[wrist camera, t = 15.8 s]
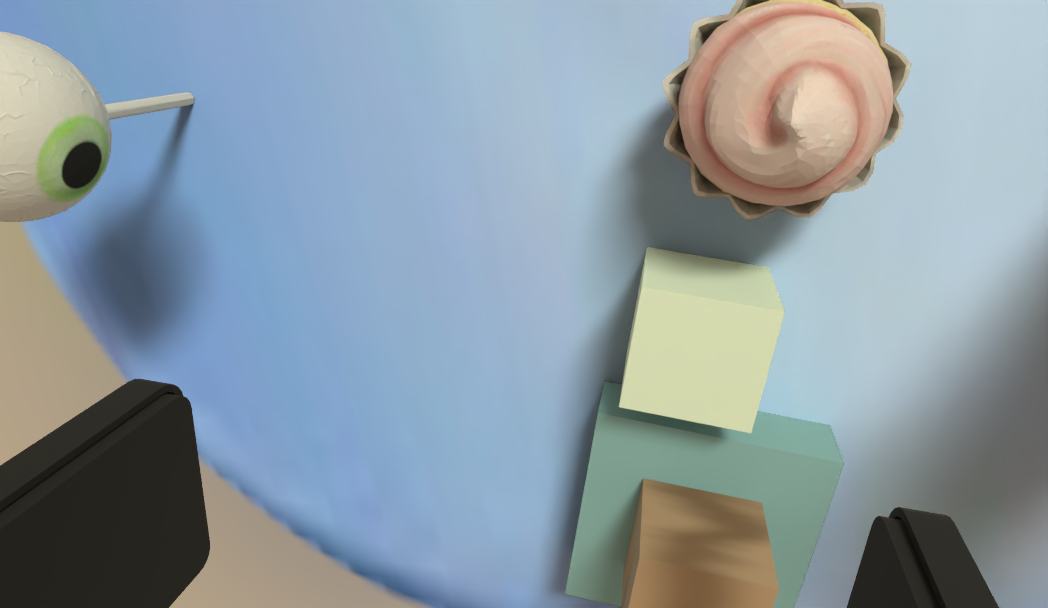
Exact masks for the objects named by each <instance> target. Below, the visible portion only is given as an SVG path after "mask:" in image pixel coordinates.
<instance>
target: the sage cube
mask: <svg viewBox="0 0 1048 608" xmlns="http://www.w3.org/2000/svg"><path fill="white" fill-rule="evenodd" d="M784 314H785V310H784V308H783V305H782V302H781V300H780V297H779V294H778V292H777V289H776V286H775V284H774V281H773V278H772V276H771V273H770V270H769V268H768V267H764V266H758V265H752V264H746V263H740V262H734V261H728V260H722V259H716V258H710V257H704V256H698V255H692V254H686V253H680V252H674V251H668V250H662V249H656V248H650V247H647V249H646V254H645V259H644V265H643V270H642V275H641V280H640V286H639V291H638V296H637V302H636V307H635V312H634V317H633V323H632V328H631V333H630V339H629V344H628V349H627V355H626V362H625V369H624V375H623V382H622V389H621V396H620V403H619V407H621V408H626V409H631V410H636V411H641V412H646V413H651V414H656V415H661V416H666V417H671V418H676V419H681V420H686V421H692V422H697V423H702V424H707V425H712V426H717V427H722V428H727V429H732V430H737V431H742V432H747V433H751V432H752V429H753V425H754V422H755V418H756V414H757V411H758V407H759V404H760V400H761V396H762V393H763V389H764V386H765V382H766V378H767V375H768V371H769V368H770V364H771V360H772V357H773V353H774V350H775V346H776V343H777V339H778V335H779V332H780V328H781V325H782V321H783V317H784Z"/></svg>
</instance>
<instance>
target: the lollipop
mask: <svg viewBox="0 0 1048 608" xmlns="http://www.w3.org/2000/svg"><path fill="white" fill-rule="evenodd" d="M191 104H194V97H193V95H192V94H191V93H188V92H185V93H178V94H172V95H165V96H159V97H152V98H145V99H139V100H132V101H125V102H119V103H112V104H106V105H104V103H103V101H102V99H101V97H100V95H99V93H98V92H97V91H96V89H95V88H94V87H93V85H92V84H91V82H90V81H89V80H88V79H87V78H86V76H85V75H84V74H83V73H82V72H81V71H80V70H79V69H78V68H77V67H76V66H75V65H73V64H72V63H71V62H70V61H69V60H67V59H66V58H65V57H63V56H62V55H60V54H59V53H57V52H55V51H54V50H52V49H50V48H49V47H47V46H45V45H43V44H41V43H38V42H35V41H33V40H30V39H28V38H26V37H23V36H19V35H14V34H11V33H6V32H0V221H3V222H24V221H34V220H39V219H43V218H47V217H50V216H53V215H56V214H58V213H60V212H63V211H66V210H68V209H69V208H70V207H72V206H74V205H75V204H77V203H78V202H79V201H81V200H82V199H83V198H84V197H85V196H86V195H88V194H89V193H90V192H91V191H92V189H93V188H94V187H95V186H96V185H97V183H98V182H99V180H100V179H101V177H102V175H103V173H104V172H105V170H106V167H107V164H108V160H109V157H110V152H111V138H112V135H111V128H110V123H109V120H111V119H116V118H122V117H127V116H133V115H139V114H144V113H150V112H155V111H161V110H167V109H172V108H178V107H183V106H189V105H191Z"/></svg>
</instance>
